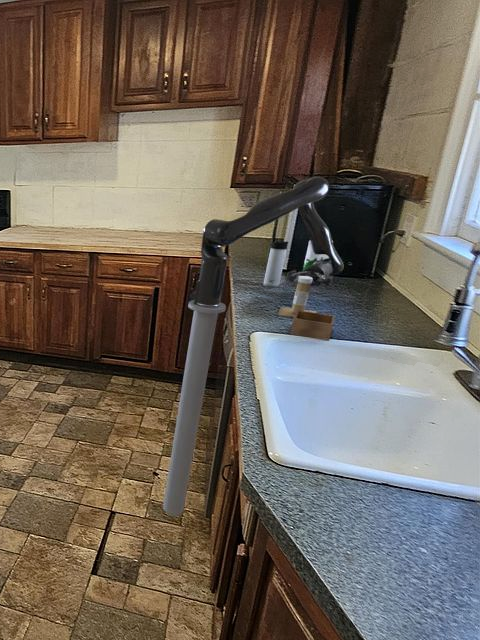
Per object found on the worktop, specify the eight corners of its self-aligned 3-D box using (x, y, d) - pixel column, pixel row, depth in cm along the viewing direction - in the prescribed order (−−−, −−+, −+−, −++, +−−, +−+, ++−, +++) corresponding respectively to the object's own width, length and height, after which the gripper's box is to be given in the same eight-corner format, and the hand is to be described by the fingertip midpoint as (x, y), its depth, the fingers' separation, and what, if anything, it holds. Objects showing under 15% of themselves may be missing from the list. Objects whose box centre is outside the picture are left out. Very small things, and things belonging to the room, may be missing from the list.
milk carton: (325, 279, 246) (336, 236, 238) (318, 282, 240) (329, 238, 233) (305, 276, 252) (315, 233, 244) (298, 279, 246) (308, 235, 238)
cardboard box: (289, 334, 175) (293, 318, 173) (293, 325, 183) (297, 310, 181) (328, 340, 169) (333, 324, 167) (330, 331, 178) (334, 315, 176)
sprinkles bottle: (291, 310, 198) (299, 274, 193) (305, 312, 196) (313, 276, 191) (289, 313, 195) (297, 277, 190) (303, 315, 193) (312, 279, 187)
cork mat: (277, 315, 194) (277, 314, 194) (281, 307, 203) (281, 306, 203) (314, 321, 188) (314, 319, 188) (316, 312, 197) (317, 311, 197)
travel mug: (272, 288, 230) (282, 242, 222) (259, 285, 235) (269, 239, 228) (282, 287, 232) (292, 241, 224) (269, 283, 238) (279, 238, 230)
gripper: (298, 261, 204) (285, 267, 193) (340, 267, 195) (328, 274, 184) (294, 280, 207) (280, 287, 196) (335, 286, 198) (323, 295, 187)
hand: (304, 281), depth 190 cm, fingers open, 8 cm apart
